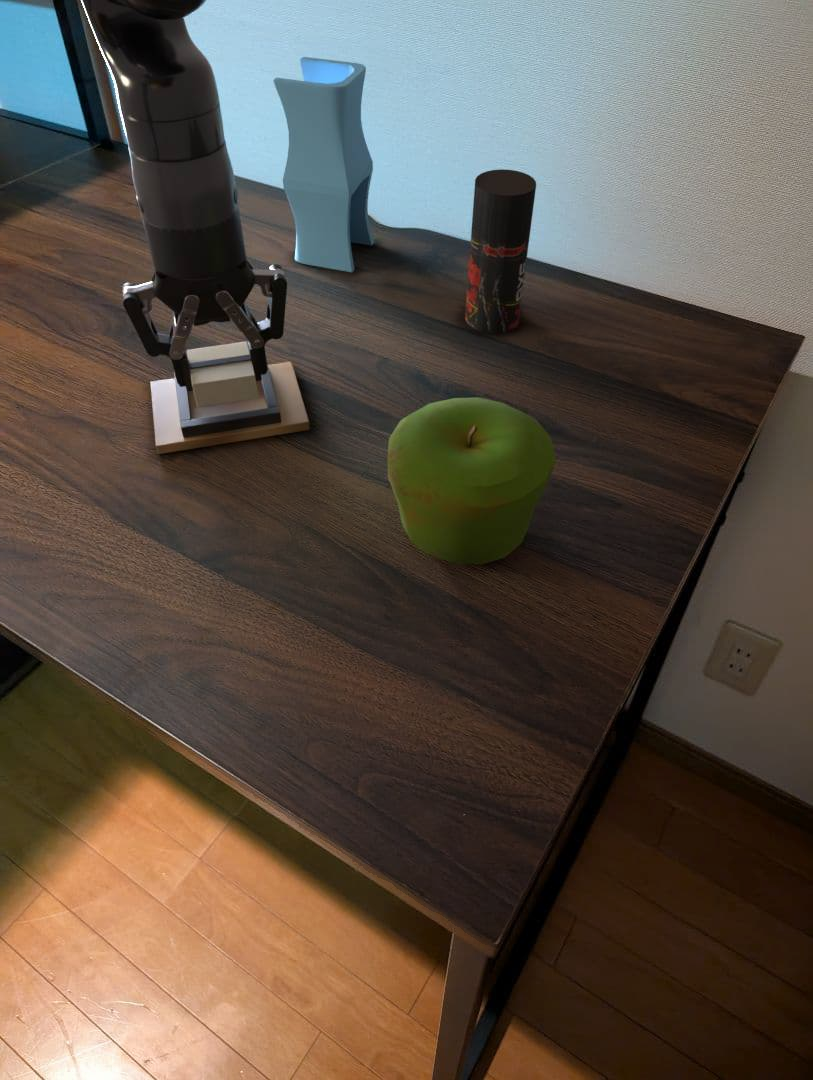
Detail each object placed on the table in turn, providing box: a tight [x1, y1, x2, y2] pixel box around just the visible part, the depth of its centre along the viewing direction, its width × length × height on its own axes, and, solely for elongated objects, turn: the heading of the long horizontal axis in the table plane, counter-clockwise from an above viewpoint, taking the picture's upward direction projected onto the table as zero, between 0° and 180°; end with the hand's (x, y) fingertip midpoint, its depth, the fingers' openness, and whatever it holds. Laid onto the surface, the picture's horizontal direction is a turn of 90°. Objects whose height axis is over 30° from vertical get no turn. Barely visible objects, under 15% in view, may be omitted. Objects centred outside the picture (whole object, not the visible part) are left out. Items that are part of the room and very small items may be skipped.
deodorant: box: [464, 169, 537, 334], centre depth 83 cm, size 6×6×15 cm
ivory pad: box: [186, 341, 258, 408], centre depth 74 cm, size 6×6×3 cm
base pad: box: [149, 358, 311, 455], centre depth 76 cm, size 14×10×2 cm
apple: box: [387, 396, 557, 565], centre depth 62 cm, size 12×12×11 cm
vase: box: [273, 56, 375, 273], centre depth 91 cm, size 8×8×20 cm
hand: (223, 380), depth 74 cm, fingers closed on ivory pad, 5 cm apart
